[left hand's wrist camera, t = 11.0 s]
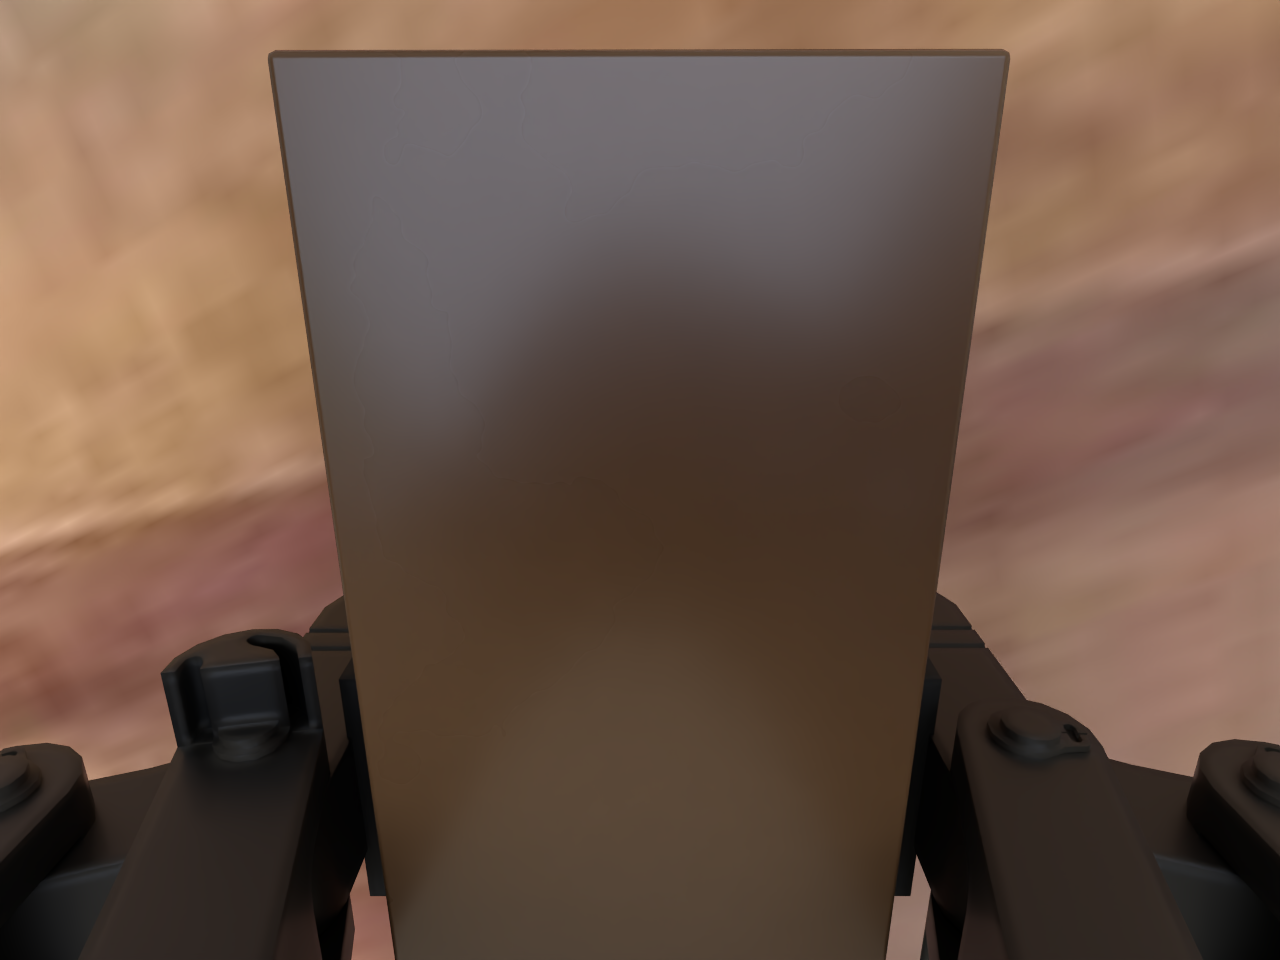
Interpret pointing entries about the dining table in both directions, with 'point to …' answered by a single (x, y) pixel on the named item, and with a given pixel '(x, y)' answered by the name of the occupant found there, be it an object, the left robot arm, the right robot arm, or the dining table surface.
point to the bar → (639, 473)
